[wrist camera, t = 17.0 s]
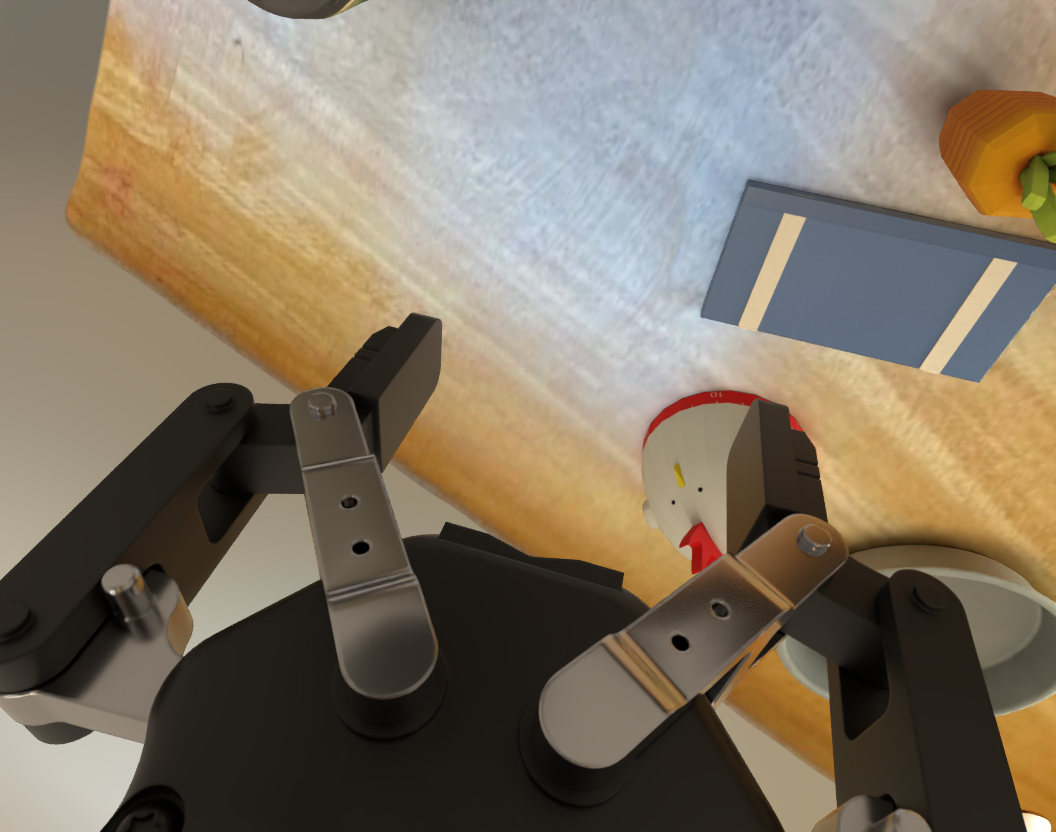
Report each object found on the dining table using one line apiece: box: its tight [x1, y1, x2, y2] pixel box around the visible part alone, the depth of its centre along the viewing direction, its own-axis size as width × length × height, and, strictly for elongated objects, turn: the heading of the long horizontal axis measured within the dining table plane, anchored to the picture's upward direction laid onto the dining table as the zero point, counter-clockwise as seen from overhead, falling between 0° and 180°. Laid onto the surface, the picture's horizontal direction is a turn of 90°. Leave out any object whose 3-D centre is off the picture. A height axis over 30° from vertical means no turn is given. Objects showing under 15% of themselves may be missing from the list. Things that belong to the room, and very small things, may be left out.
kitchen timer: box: [642, 391, 803, 574], centre depth 48 cm, size 14×14×15 cm
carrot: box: [939, 90, 1056, 243], centre depth 29 cm, size 5×5×15 cm
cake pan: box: [776, 545, 1056, 716], centre depth 58 cm, size 25×25×4 cm
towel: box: [701, 180, 1056, 383], centre depth 41 cm, size 10×20×1 cm, turn 83°
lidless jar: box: [1022, 813, 1051, 832], centre depth 76 cm, size 5×3×5 cm
